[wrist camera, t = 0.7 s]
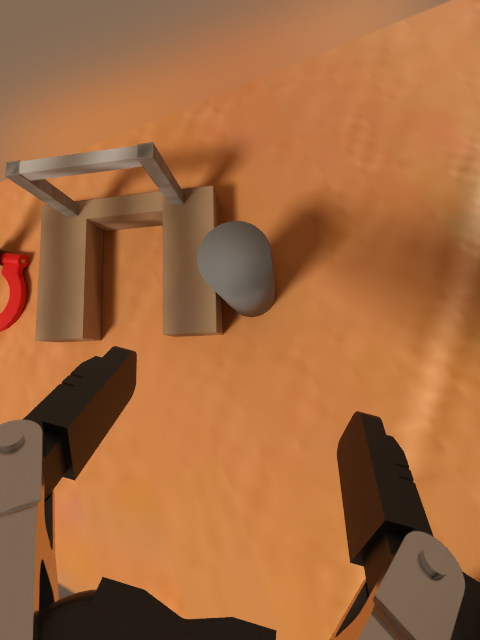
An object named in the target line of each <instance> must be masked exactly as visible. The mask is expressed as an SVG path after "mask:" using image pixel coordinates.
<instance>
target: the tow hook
mask: <svg viewBox="0 0 480 640" xmlns="http://www.w3.org/2000/svg"><path fill="white" fill-rule="evenodd" d="M28 263H29V259H28V257H27V256H25V255H20V254H13V253H8V252H5V251H2V250H0V265H1V266H3V269H2V275H3V276H4V277H5V278H6V280H7V281H8V284H9V287H10V297H9V301H8V304H7V306H6V308H5V309H4V311H3V312H2V313H1V314H0V332H1V331H3V330H5V329H7V328H9V327H10V326H11V325H12V324H13V323H14V322H16V320H17V319H18V317H19V316H20V315H21V313H22V310H23V308H24V306H25V302H26V295H27V292H26V283H25V280H24V277H23V275H22V274H23V269H24V267H26V266H27V265H28Z"/></svg>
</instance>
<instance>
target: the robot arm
mask: <svg viewBox="0 0 480 640" xmlns="http://www.w3.org/2000/svg"><path fill="white" fill-rule="evenodd" d="M136 364H137V355H136V352H135V351H132V350H128V349H124V348H120V347H117V346H114V347H112V348H111V349H110V350H109V351H108V352H107V353H106V354H105V355H104V356H103V358H101V357H98V356H95V357H93V358H91V359H89V360H87V361H85V362H83V363H81V364H80V365H79V366H78V367H77V368H76V369H75V370H74V371H73V372H72V373H71V375H70V376H68V377H67V378H65V379H64V380H63V381H62V384H59V385H58V386H57V387H56V388H55V389H54V390H53V391H52V392H51V393H50V394H49V395H48V396H47V397H46V398H45V399H44V400H43V401H42V402H41V403H40V404H39V405H37V406H36V407H35V408H34V409H33V410H32V411H31V412H30V413H29V414H28V415H27V416H26V417H25V418H24V419H23V420H14V421H9V422H6V423H3V424H1V425H0V640H276V630H273V629H269V628H266V627H263V626H260V625H256V624H253V623H250V622H247V621H244V620H240V619H237V618H234V617H225V618H206V619H184V618H182V617H180V616H178V615H177V614H176V613H174V612H173V611H172V610H171V609H169V608H168V607H167V606H165V605H164V604H163V603H161V602H160V601H159V600H157V599H156V598H155V597H153V596H152V595H151V594H149V593H148V592H147V591H145V590H143V589H140V588H137V587H134V586H130V585H127V584H124V583H121V582H117V581H114V580H111V579H108V578H105V577H102V580H101V582H100V584H99V586H98V588H97V590H88V591H83V592H78V593H76V594H73V595H70V596H67V597H65V598H63V599H60V600H58V580H57V568H56V558H55V499H54V488H55V487H56V485H57V484H58V482H59V481H60V480H61V478H62V477H65V478H68V479H72V480H75V479H76V478H77V476H78V475H79V474H80V472H81V471H82V469H83V468H84V466H85V465H86V463H87V462H88V460H89V459H90V458H91V456H92V455H93V453H94V452H95V450H96V449H97V447H98V446H99V444H100V443H101V441H102V440H103V439H104V437H105V436H106V434H107V433H108V431H109V430H110V428H111V427H112V425H113V424H114V423H115V421H116V420H117V418H118V417H119V415H120V414H121V412H122V411H123V409H124V408H125V407H126V405H127V404H128V402H129V401H130V399H131V397H132V395H133V393H134V390H135V386H136ZM337 460H338V468H339V476H340V484H341V492H342V500H343V508H344V516H345V525H346V533H347V541H348V549H349V557H350V563H353V564H357V565H360V566H364V569H365V575H366V579H365V580H364V581H363V582H362V584H361V586H360V588H359V589H358V591H357V593H356V595H355V596H354V598H353V600H352V601H351V603H350V605H349V607H348V608H347V610H346V612H345V614H344V615H343V617H342V619H341V621H340V622H339V624H338V626H337V628H336V629H335V631H334V633H333V634H332V636H331V638H330V639H329V640H480V583H479V582H478V581H476V580H475V579H473V578H471V577H470V576H468V575H467V574H465V573H464V572H462V570H461V568H460V566H459V564H458V562H457V561H456V559H455V558H454V556H453V555H452V553H451V552H450V551H449V550H448V549H447V548H446V547H445V546H444V545H443V544H442V543H441V542H440V541H438V540H437V539H436V538H434V536H433V534H432V531H431V528H430V525H429V522H428V519H427V517H426V514H425V511H424V508H423V505H422V502H421V499H420V497H419V494H418V491H417V488H416V485H415V483H413V480H414V479H413V477H412V474H411V471H410V470H409V465H408V462H407V459H406V456H405V454H404V451H403V450H402V448H401V447H400V446H399V444H398V443H397V442H396V440H395V439H394V437H392V436H389V435H386V433H385V430H384V426H383V423H382V420H381V418H380V417H377V416H373V415H370V414H366V413H362V412H358V411H357V412H355V413H354V415H353V416H352V418H351V420H350V422H349V424H348V425H347V427H346V429H345V431H344V433H343V435H342V437H341V438H340V441H339V444H338V449H337Z"/></svg>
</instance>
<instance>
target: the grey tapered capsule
mask: <svg viewBox="0 0 480 640" xmlns="http://www.w3.org/2000/svg"><path fill="white" fill-rule="evenodd" d="M197 263H198V268H199V271H200V274H201V276H202V278H203V279H204V280H205V282H206V283H207V284H208V285H209V286H210V287H211V288H212V289H213V290H214V291H215V292H216V293H217V294H219V295H220V296H221V297H222V298H223V299H224V300H225V301H226V302H227V303H228V304H229V305H230V306H231V307H232V308H233V309H234V310H235V311H236V312H237V313H239V314H241V315H243V316H247V317H256V316H260V315H262V314H264V313H265V312H267V311H268V310H269V309H270V308H271V306H272V305H273V303H274V301H275V297H276V288H275V280H274V271H273V263H272V255H271V248H270V244H269V242H268V240H267V238H266V236H265V235H264V234H263V232H262V231H261V230H259V229H258V228H257V227H255V226H254V225H252V224H249V223H246V222H242V221H231V222H226V223H223V224H221V225H218V226H217V227H215V228H214V229H212V230H211V231H210V232H209V233H208V234H207V235H206V236H205V237H204V239H203V241H202V242H201V244H200V247H199V250H198V255H197Z"/></svg>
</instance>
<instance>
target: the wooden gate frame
mask: <svg viewBox="0 0 480 640" xmlns="http://www.w3.org/2000/svg"><path fill="white" fill-rule="evenodd" d="M142 166H143V168H144V169H145V170H146V172H147V173H148V174H149V176H150V177H151V179H152V180H153V181H154V183H155V184H156V185H157V187H158V188H159V189H160V191H161V192H152V193H143V194H135V195H126V196H117V197H109V198H100V199H91V200H83V201H73V200H72V199H70V198H69V197H68V196H66V195H65V194H64V193H62V192H61V191H60V190H58V189H57V188H56V187H54V186H53V185H52V184H50V183H49V182H48V181H46V180H45V179H48V178H56V177H64V176H72V175H79V174H87V173H95V172H103V171H111V170H118V169H126V168H134V167H142ZM5 177H7V178H8V179H10V180H11V181H13V182H14V183H16V184H18V185H19V186H21V187H22V188H24V189H25V190H27V191H28V192H30V193H31V194H33V195H34V196H36V197H37V198H39V199H41V200H42V201H44V202H45V203H47V204H48V205H42V222H41V241H40V260H39V279H38V299H37V318H36V337H35V341H46V342H75V341H97V340H101V326H102V284H103V243H104V231H109V230H119V229H129V228H140V227H150V226H160V225H163V335H168V336H173V337H182V336H203V335H223V315H222V297H221V296H220V295H219V294H217V293H216V292H215V291H214V290H213V289H212V288H211V287H210V286H209V285H208V284H207V283H206V282H205V280H204V279H203V278H202V276H201V274H200V271H199V268H198V263H197V255H198V250H199V247H200V244H201V242H202V241H203V239H204V237H205V236H206V235H207V234H208V233H209V232H210V231H211V230H212V229H214V228H215V227H217V226H218V225H220V207H219V199H218V197H217V195H216V192H215V190H214V187H213V186H204V187H196V188H187V189H181V188H180V186H179V185H178V183H177V181H176V180H175V178H174V176H173V175H172V173H171V171H170V170H169V168H168V166H167V165H166V163H165V161H164V160H163V158H162V157H161V155H160V153H159V152H158V150H157V148H156V147H155V145H154V143H153V142H150V143H143V144H137V146H130V147H123V148H116V149H108V150H101V151H94V152H87V153H79V154H72V155H65V156H58V157H51V158H44V159H37V160H29V161H22V162H21V161H13V162H7V163H6V174H5Z"/></svg>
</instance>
